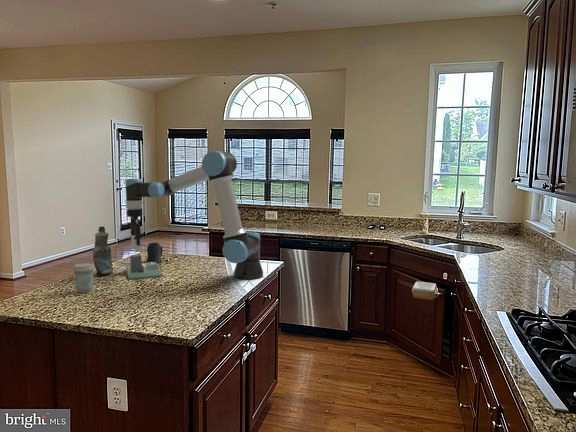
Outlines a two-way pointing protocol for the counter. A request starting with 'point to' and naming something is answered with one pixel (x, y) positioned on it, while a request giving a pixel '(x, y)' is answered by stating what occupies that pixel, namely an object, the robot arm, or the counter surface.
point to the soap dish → (424, 290)
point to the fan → (151, 265)
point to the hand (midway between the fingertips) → (136, 249)
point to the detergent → (102, 253)
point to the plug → (135, 263)
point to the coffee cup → (84, 277)
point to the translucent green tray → (142, 273)
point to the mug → (154, 253)
